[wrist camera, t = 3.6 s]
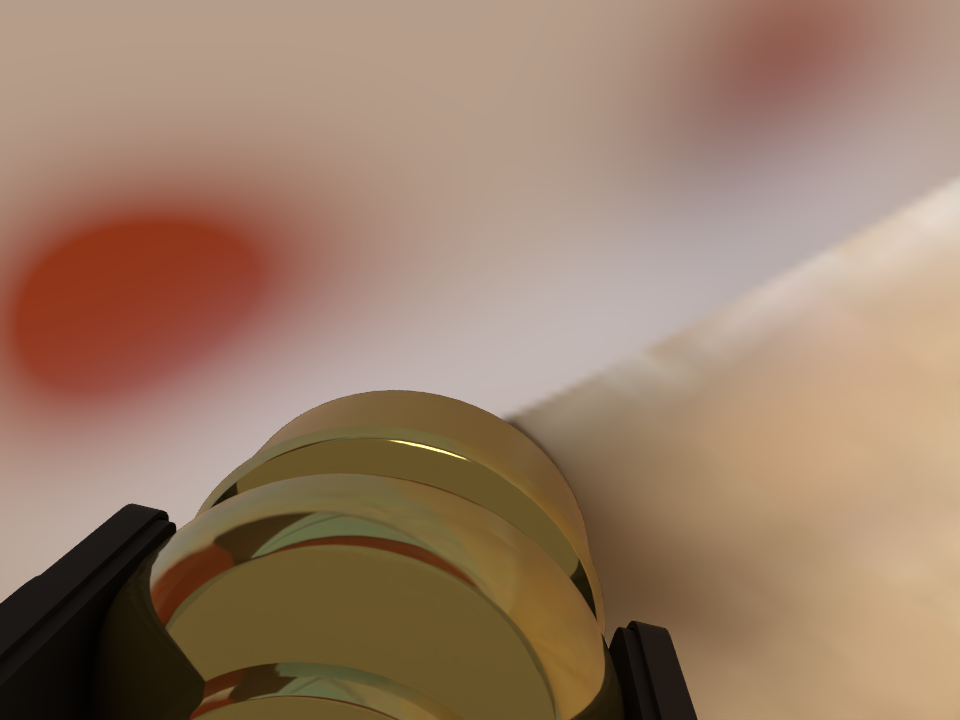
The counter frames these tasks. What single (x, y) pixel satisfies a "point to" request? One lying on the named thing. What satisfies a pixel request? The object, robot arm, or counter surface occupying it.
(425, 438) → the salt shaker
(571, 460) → the counter surface
